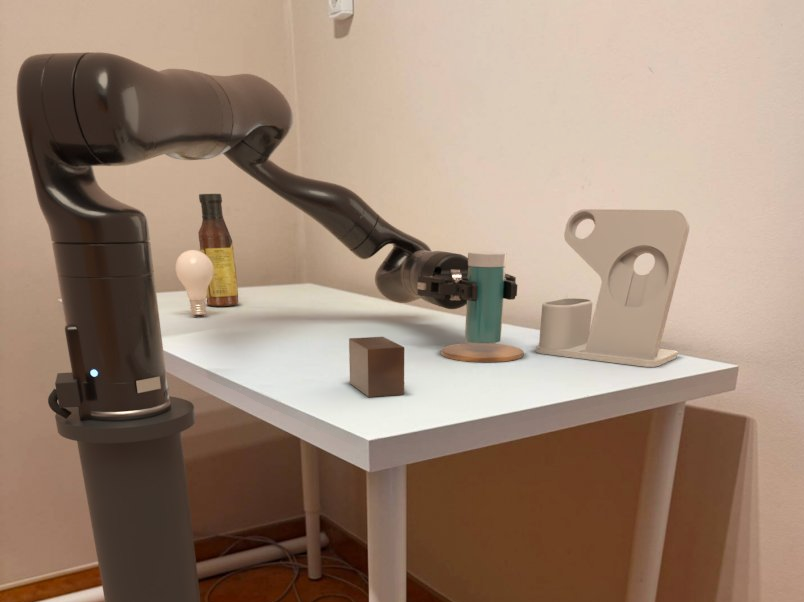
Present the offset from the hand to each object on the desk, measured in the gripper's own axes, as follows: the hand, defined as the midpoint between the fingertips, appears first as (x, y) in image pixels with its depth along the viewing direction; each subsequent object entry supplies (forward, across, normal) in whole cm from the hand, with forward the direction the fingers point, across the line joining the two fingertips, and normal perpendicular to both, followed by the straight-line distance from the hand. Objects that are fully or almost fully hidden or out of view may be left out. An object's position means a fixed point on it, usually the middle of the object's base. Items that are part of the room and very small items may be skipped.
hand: (494, 291), depth 97 cm
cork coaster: (-3, 0, -8) cm, 9 cm away
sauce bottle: (-66, +26, -9) cm, 71 cm away
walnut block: (+13, +20, -8) cm, 25 cm away
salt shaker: (+1, 0, -5) cm, 5 cm away
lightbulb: (-51, +32, -9) cm, 60 cm away
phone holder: (+2, -16, -8) cm, 18 cm away
